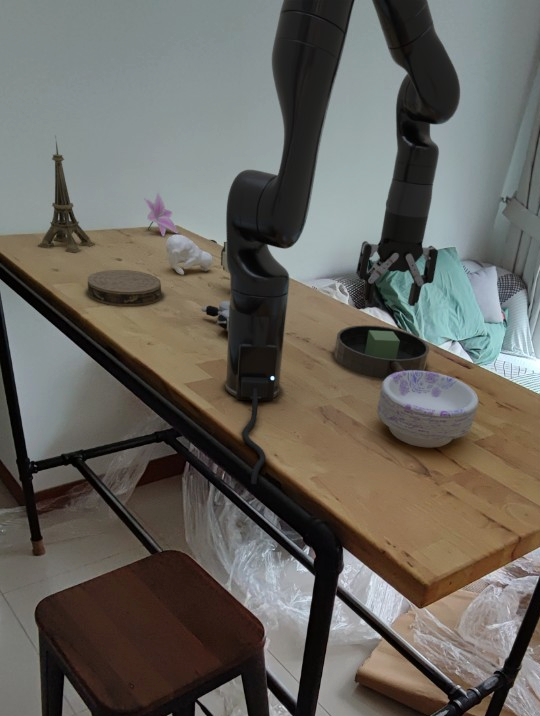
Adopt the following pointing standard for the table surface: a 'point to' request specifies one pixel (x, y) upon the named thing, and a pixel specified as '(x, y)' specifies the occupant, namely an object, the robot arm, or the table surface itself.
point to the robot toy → (219, 313)
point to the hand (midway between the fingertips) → (389, 303)
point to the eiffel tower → (63, 214)
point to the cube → (382, 344)
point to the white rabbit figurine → (186, 254)
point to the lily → (160, 215)
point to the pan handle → (396, 367)
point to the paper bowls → (426, 407)
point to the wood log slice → (124, 287)
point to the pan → (355, 359)
